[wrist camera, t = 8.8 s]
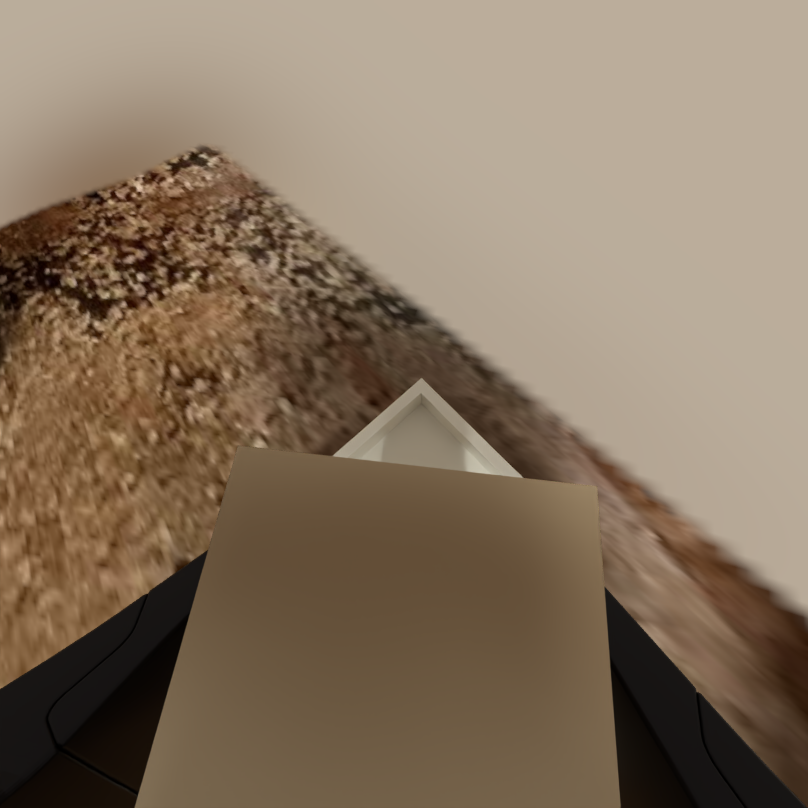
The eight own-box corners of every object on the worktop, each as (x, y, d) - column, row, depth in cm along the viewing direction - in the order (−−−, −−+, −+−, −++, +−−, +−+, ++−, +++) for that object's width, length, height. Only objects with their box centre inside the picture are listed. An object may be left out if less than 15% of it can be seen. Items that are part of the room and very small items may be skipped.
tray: (571, 543, 15) (600, 553, 12) (410, 722, 13) (406, 774, 11) (422, 393, 18) (421, 377, 15) (275, 523, 16) (249, 528, 14)
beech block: (462, 598, 14) (645, 1140, 2) (360, 582, 14) (93, 953, 3) (467, 490, 15) (597, 485, 4) (375, 479, 16) (238, 445, 4)
